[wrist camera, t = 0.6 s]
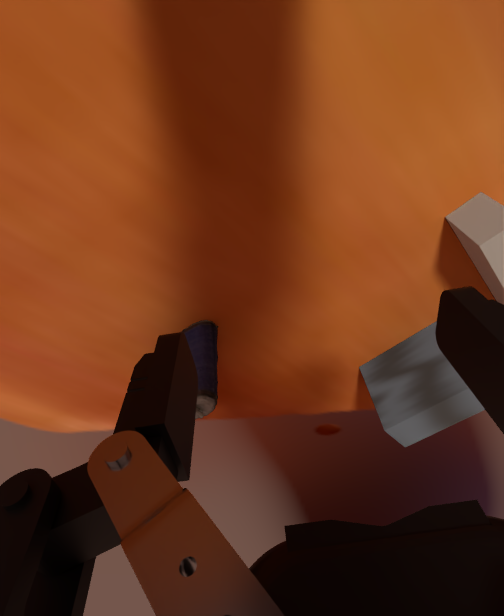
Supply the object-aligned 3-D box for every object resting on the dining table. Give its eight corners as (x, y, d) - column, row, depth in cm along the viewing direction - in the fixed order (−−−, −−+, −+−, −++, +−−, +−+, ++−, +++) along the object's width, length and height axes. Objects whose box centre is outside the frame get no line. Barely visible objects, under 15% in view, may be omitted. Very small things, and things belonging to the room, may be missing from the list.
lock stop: (377, 383, 42) (405, 447, 35) (359, 366, 40) (384, 430, 33) (460, 337, 38) (508, 398, 32) (444, 315, 36) (491, 376, 30)
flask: (163, 377, 39) (146, 473, 30) (141, 363, 38) (116, 460, 29) (224, 329, 36) (224, 423, 27) (202, 312, 34) (194, 406, 26)
